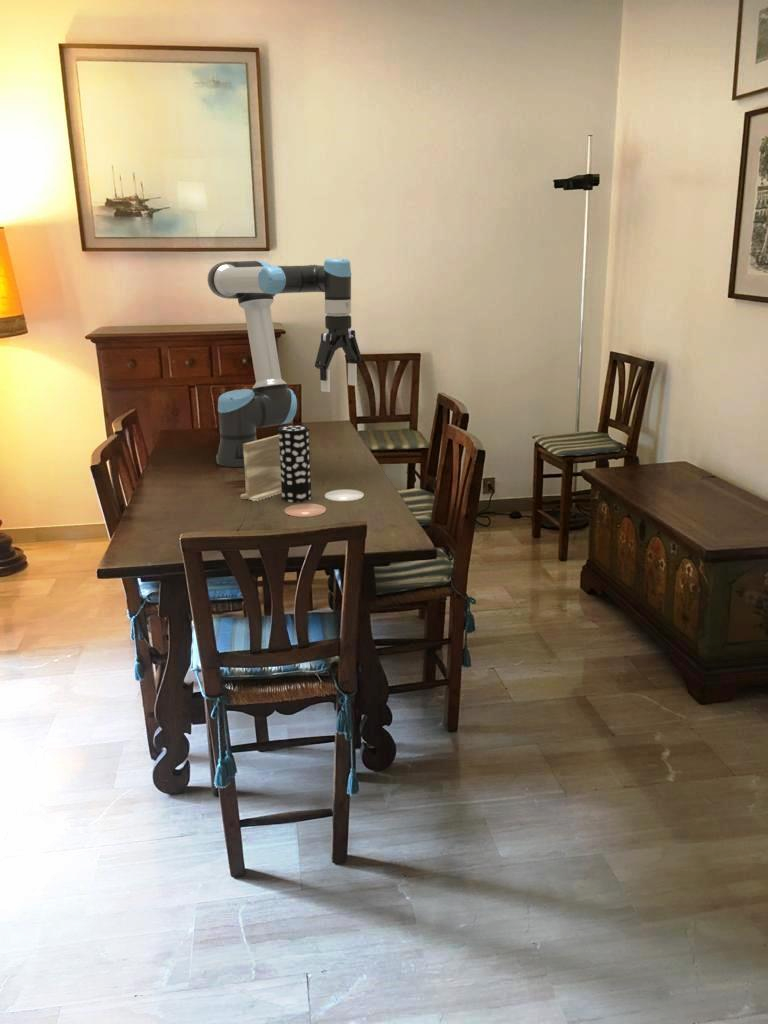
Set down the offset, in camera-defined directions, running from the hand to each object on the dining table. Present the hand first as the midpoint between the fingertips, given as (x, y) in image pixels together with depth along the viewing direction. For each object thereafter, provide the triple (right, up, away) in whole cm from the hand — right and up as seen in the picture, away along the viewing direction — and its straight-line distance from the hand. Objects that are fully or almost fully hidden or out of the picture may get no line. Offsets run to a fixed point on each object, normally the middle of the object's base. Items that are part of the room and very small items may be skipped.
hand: (339, 388), depth 241 cm
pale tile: (+2, -32, -10) cm, 34 cm away
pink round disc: (-8, -36, -23) cm, 44 cm away
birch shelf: (-20, -31, -6) cm, 37 cm away
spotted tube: (-11, -33, -11) cm, 37 cm away
